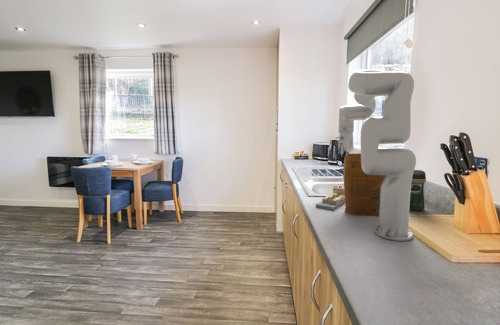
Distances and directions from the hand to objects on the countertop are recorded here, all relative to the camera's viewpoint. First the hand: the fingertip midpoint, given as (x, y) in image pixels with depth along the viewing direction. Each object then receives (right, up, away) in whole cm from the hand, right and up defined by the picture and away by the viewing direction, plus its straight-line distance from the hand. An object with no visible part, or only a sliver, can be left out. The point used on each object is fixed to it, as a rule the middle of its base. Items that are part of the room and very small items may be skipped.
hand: (344, 163), depth 144 cm
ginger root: (-8, -19, -8) cm, 22 cm away
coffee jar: (+24, -21, -20) cm, 38 cm away
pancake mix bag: (-1, -23, -26) cm, 34 cm away
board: (-9, -20, -9) cm, 24 cm away
